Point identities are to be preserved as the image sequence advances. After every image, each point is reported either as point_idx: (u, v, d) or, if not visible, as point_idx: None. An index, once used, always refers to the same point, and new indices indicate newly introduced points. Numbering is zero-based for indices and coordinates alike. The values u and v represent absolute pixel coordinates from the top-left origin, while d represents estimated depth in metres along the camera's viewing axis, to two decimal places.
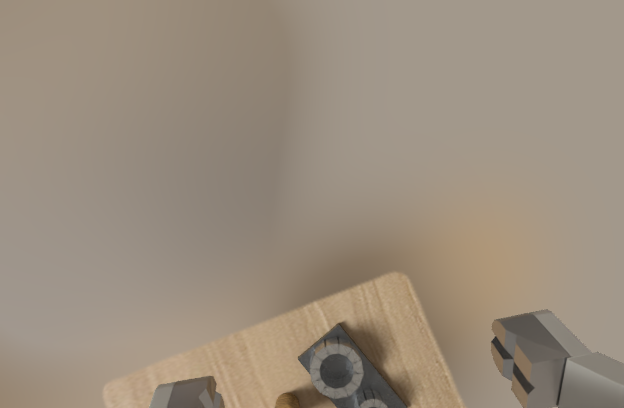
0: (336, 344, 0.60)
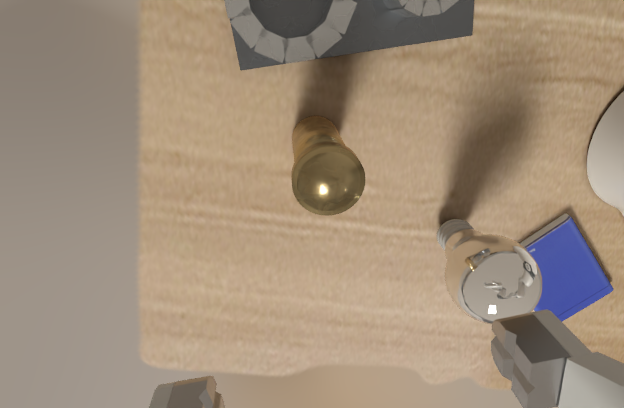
0: None
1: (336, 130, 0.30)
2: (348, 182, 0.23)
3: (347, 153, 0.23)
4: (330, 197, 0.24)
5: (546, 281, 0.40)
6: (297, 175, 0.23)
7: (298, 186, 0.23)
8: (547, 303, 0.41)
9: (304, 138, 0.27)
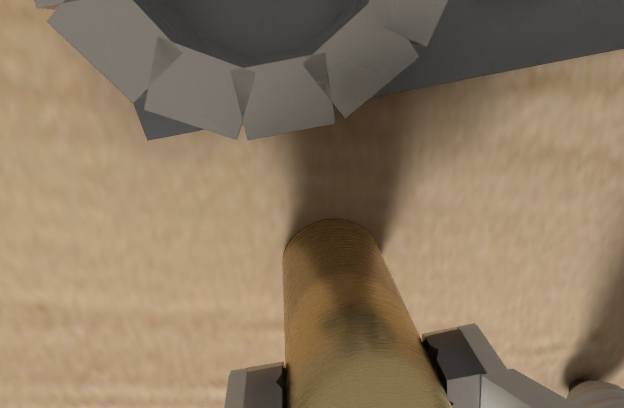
0: None
1: (383, 265, 0.13)
2: None
3: None
4: None
5: None
6: None
7: None
8: None
9: (311, 333, 0.10)
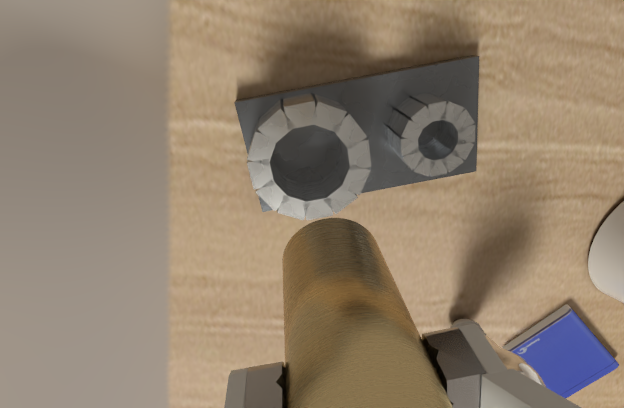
0: (255, 136, 0.25)
1: (383, 264, 0.13)
2: None
3: None
4: None
5: (552, 364, 0.42)
6: None
7: None
8: (555, 381, 0.43)
9: (310, 331, 0.10)
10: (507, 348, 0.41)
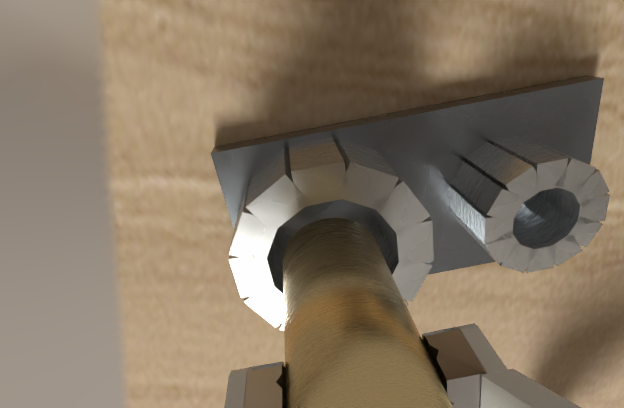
0: (242, 218, 0.14)
1: (383, 264, 0.13)
2: None
3: None
4: None
5: None
6: None
7: None
8: None
9: (310, 331, 0.10)
10: None
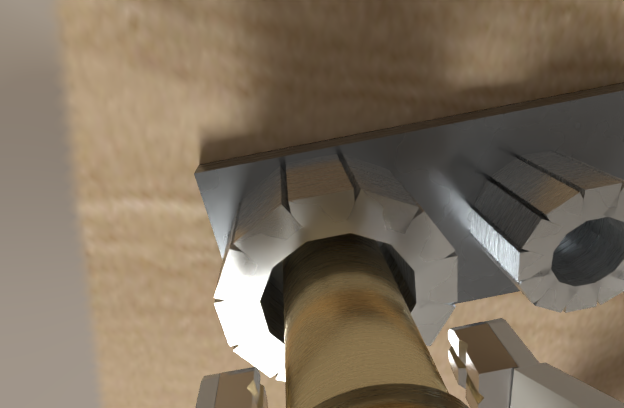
0: (230, 256, 0.12)
1: (376, 248, 0.14)
2: None
3: None
4: None
5: None
6: None
7: None
8: None
9: (307, 304, 0.11)
10: None
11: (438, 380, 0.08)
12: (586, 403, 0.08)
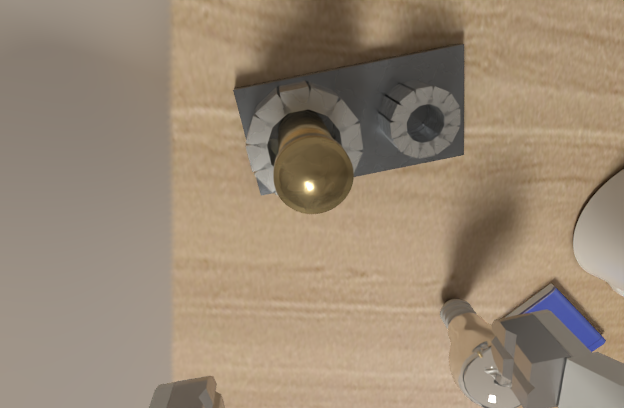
0: (253, 120, 0.26)
1: (323, 123, 0.28)
2: (334, 176, 0.21)
3: (331, 144, 0.21)
4: (316, 193, 0.22)
5: None
6: (279, 171, 0.21)
7: (280, 183, 0.21)
8: None
9: (287, 132, 0.25)
10: None
11: None
12: None
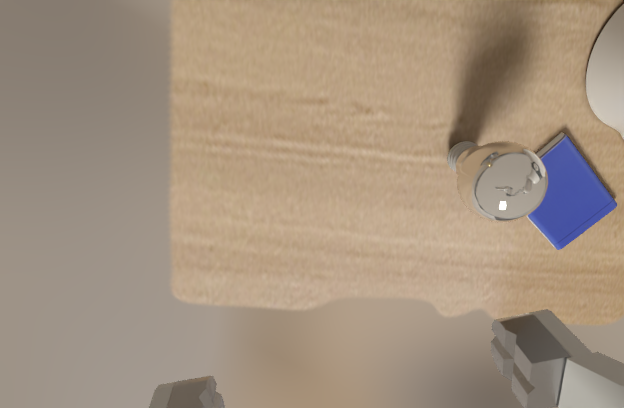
0: None
1: None
2: None
3: None
4: None
5: (550, 202, 0.42)
6: None
7: None
8: (554, 224, 0.44)
9: None
10: None
11: None
12: None
